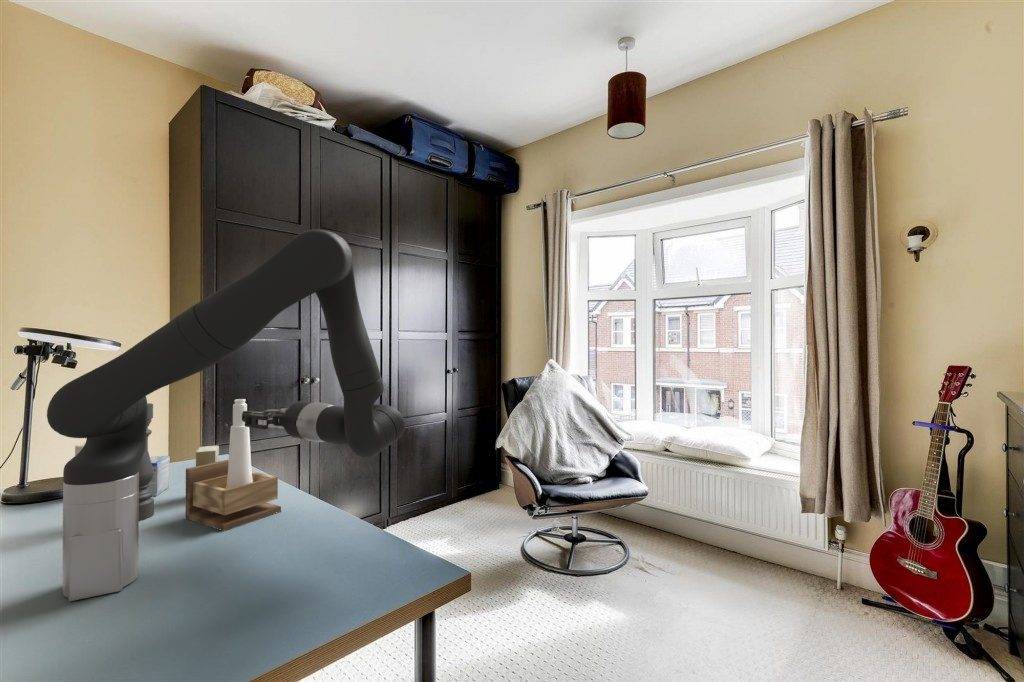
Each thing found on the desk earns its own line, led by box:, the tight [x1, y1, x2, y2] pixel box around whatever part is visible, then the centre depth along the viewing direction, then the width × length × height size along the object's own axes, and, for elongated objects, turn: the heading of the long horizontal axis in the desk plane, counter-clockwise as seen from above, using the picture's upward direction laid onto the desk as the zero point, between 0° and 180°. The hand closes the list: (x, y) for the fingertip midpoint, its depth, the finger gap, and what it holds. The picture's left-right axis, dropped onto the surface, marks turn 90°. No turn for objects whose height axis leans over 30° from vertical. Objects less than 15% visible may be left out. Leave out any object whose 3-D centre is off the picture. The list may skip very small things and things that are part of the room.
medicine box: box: [148, 455, 171, 497], centre depth 123 cm, size 8×4×9 cm, turn 17°
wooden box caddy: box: [185, 459, 282, 532], centre depth 107 cm, size 14×13×11 cm
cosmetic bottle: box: [226, 398, 253, 489], centre depth 107 cm, size 6×6×22 cm
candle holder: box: [139, 402, 155, 522], centre depth 105 cm, size 6×6×25 cm
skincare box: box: [195, 445, 220, 467], centre depth 120 cm, size 6×4×12 cm
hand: (263, 413), depth 101 cm, fingers open, 8 cm apart
